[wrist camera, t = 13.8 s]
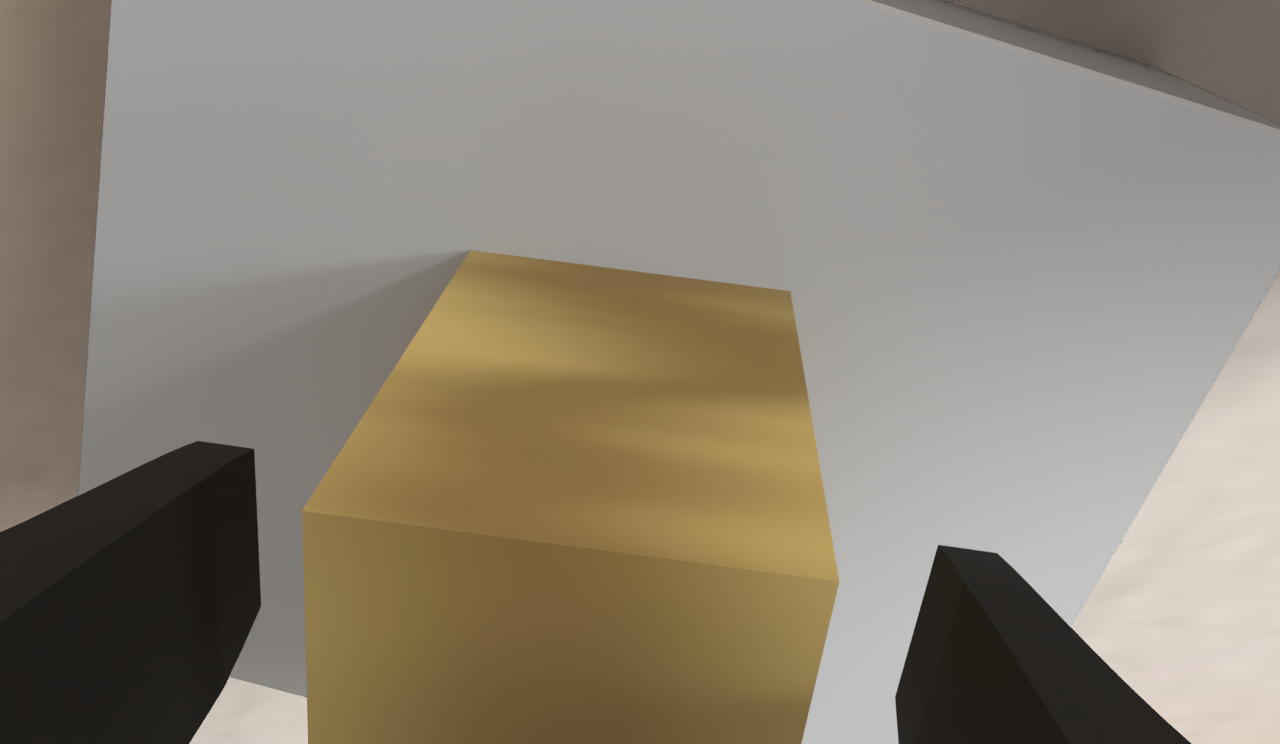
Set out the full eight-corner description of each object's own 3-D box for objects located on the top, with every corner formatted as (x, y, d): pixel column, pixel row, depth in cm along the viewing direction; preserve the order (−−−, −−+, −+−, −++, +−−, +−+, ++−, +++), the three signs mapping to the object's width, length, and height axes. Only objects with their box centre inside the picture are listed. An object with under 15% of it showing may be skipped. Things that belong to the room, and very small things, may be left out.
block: (790, 291, 13) (839, 581, 8) (740, 557, 15) (753, 945, 10) (470, 249, 13) (302, 511, 8) (457, 519, 15) (311, 885, 10)
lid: (1311, 139, 13) (1346, 156, 12) (923, 823, 18) (931, 863, 17) (162, -224, 12) (126, -231, 11) (95, 602, 17) (68, 633, 16)
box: (1160, 69, 17) (1311, 139, 13) (884, 631, 23) (923, 823, 18) (318, -198, 17) (167, -223, 12) (230, 446, 22) (100, 596, 17)
